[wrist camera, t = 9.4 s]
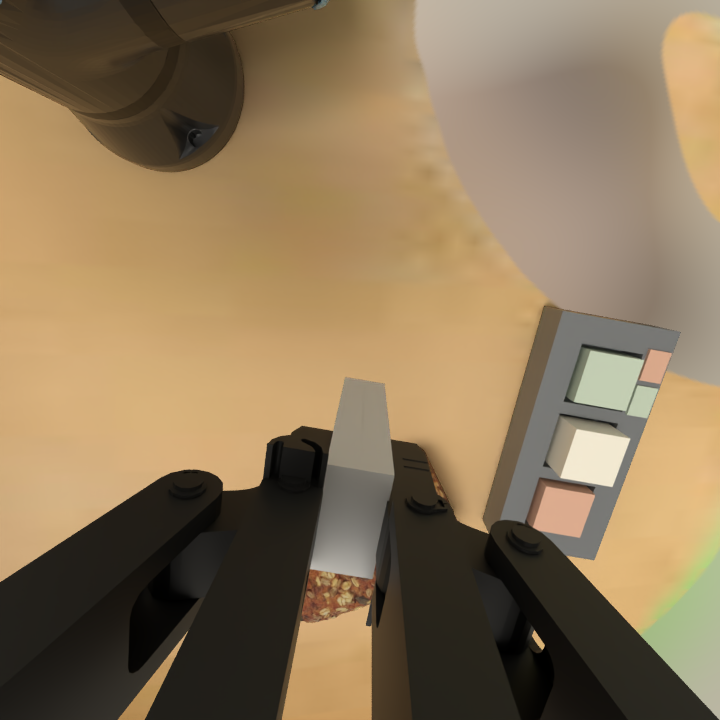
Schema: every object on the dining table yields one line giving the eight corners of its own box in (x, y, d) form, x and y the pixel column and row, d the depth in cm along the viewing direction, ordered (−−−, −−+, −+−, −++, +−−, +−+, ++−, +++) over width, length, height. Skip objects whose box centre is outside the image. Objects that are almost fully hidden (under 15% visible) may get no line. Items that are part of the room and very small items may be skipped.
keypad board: (544, 306, 40) (564, 311, 36) (650, 325, 40) (683, 332, 36) (482, 519, 46) (493, 544, 42) (575, 535, 46) (595, 562, 42)
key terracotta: (532, 468, 43) (546, 486, 39) (577, 476, 43) (595, 495, 39) (519, 508, 44) (532, 529, 40) (563, 516, 44) (579, 537, 40)
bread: (314, 568, 48) (300, 645, 39) (275, 497, 46) (250, 559, 36) (458, 516, 46) (482, 584, 36) (424, 438, 44) (440, 489, 34)
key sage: (571, 342, 39) (590, 350, 36) (620, 351, 39) (644, 360, 36) (556, 390, 40) (573, 401, 37) (604, 398, 40) (625, 411, 37)
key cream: (558, 414, 39) (576, 429, 36) (608, 423, 39) (630, 438, 36) (544, 459, 40) (560, 478, 37) (592, 468, 40) (612, 487, 37)
